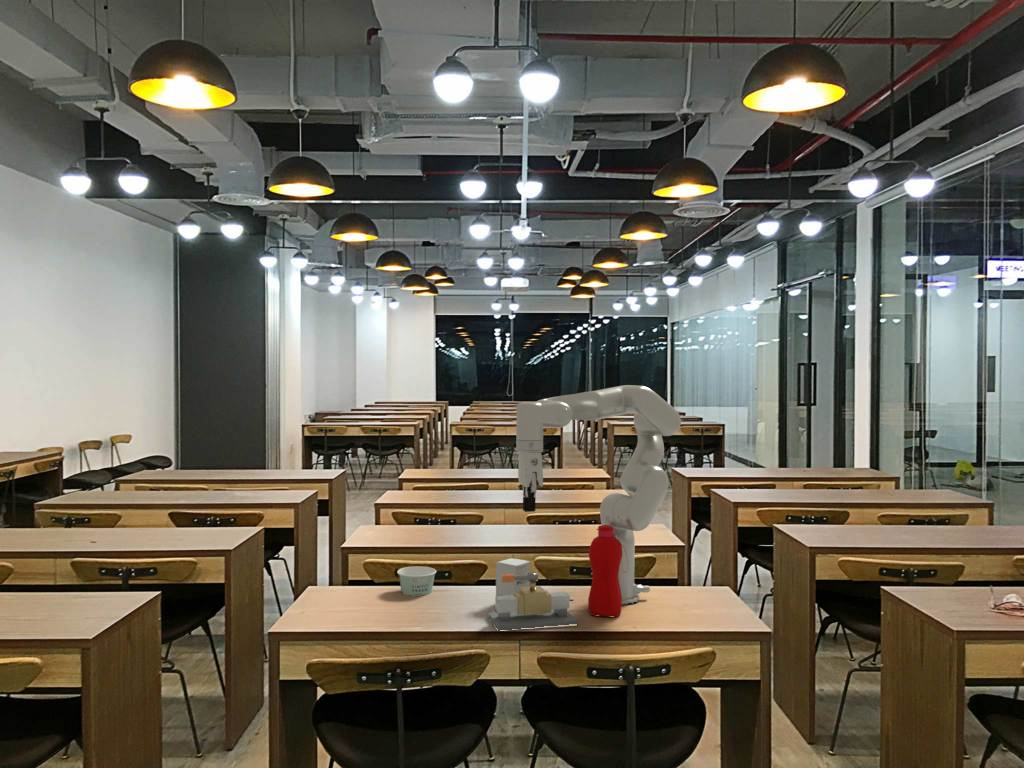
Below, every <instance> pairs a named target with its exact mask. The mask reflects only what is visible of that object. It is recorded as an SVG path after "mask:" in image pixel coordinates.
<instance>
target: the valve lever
mask: <svg viewBox="0 0 1024 768" xmlns="http://www.w3.org/2000/svg"><path fill="white" fill-rule="evenodd" d="M514 580H528V581H536V582H538V580H539V573H538V572H536V571H535V572H534V571H533V572H530V573H528V574H525V575H514V574H513V573H506V574H501V581H502V582H503V583H508V582H514Z"/></svg>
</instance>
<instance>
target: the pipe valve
mask: <svg viewBox="0 0 1024 768" xmlns="http://www.w3.org/2000/svg"><path fill="white" fill-rule="evenodd" d="M536 582H537V581H530V587H519V592H514V595H506V596H496V595H495V596H494V597H495V598H494V601H495V607H494V608H495V611H496V613H497V612H498V617H499V619H500V620H501V621H510V612H517V614H518V615H521V614H524V615H536V614H546V613H550V612H551V610H553V609H554V613H555V614H556V615H557V616H558V617H567V611H568V609H570V608H571V606H570V604H571V603H570V602H571V601H570V598H571V597H570V594H569V593H567V591H559V592H557V591H556V592H549V591H548V590H546V589H544V588H543V586H540V585H536V584H537V583H536Z"/></svg>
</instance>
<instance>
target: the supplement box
mask: <svg viewBox="0 0 1024 768" xmlns="http://www.w3.org/2000/svg"><path fill="white" fill-rule="evenodd" d="M495 566H496V567H495V569H496V570H495V574H496V575H495V596H506V595H514V592H519V587H530V581H528V580H514V582H508V583H503V582H502V581H501V574H506V573H513V574H514V575H525V574H528V573H530V571H531V561H529V560H525V559H518V558H513V557H512V558H507V559H503V560H500V561H497V562H496V564H495Z"/></svg>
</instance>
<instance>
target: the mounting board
mask: <svg viewBox="0 0 1024 768" xmlns="http://www.w3.org/2000/svg"><path fill="white" fill-rule="evenodd" d="M487 614H488V615H487V618H489V619H490V620H491V621H490V620H489V619H488V620H489V621H490V623H491V622H492V623H493V624H494V625H495V627H496V628H497V629H498V631H500V630H512V629H521V628H535V627H544V626H558V625H569V624H578V625H579V623H578V622H579V621H578V619H577V618H575V617H574V615H572V613H570V611H568V610H567V617H558V616H557V615H556V614H555V613H554V609H553V610H551V612H550V613H546V614H536V615H524V614H521V615H518V614H517V612H510V621H501V620H500V619H499V617H498V612H497V611H496V612H488V613H487ZM492 623H491V624H492ZM493 624H492V625H493ZM494 625H493V626H494ZM495 627H494V628H495ZM496 628H495V629H496ZM497 629H496V630H497ZM498 631H497V632H498Z"/></svg>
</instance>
